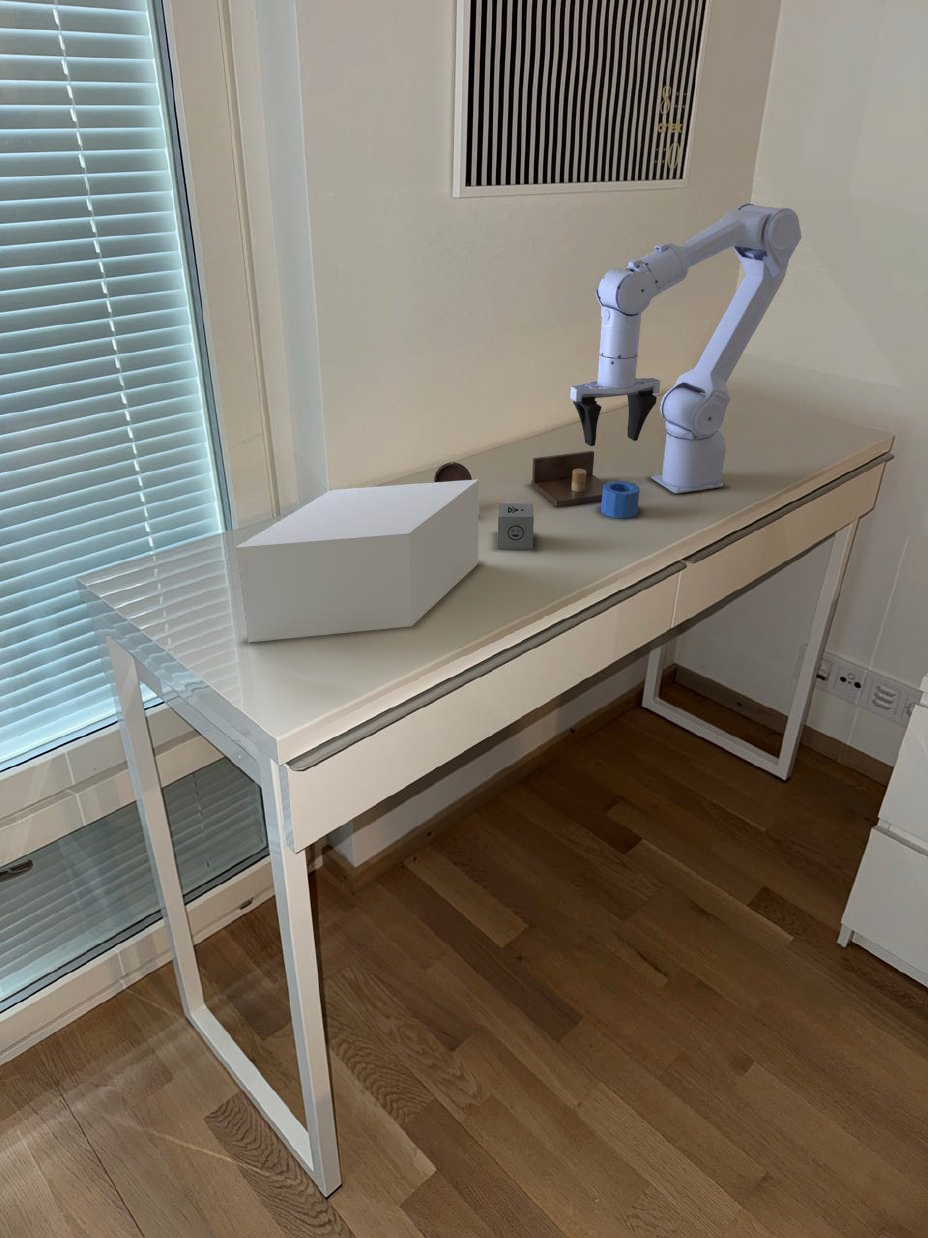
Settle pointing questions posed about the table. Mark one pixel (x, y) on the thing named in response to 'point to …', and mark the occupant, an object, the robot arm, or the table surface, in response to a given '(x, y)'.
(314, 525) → the block
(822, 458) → the table surface
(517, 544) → the dice cube
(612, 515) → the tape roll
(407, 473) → the table surface
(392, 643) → the table surface
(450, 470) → the compass
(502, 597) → the table surface
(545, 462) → the holder
